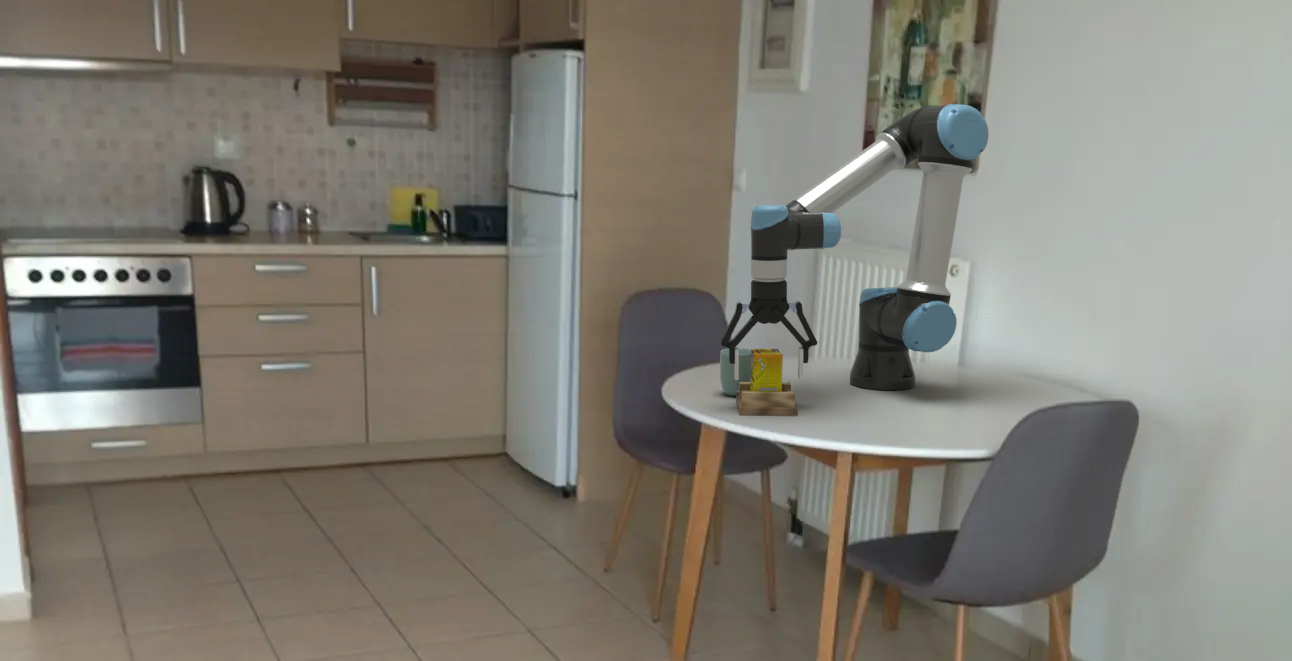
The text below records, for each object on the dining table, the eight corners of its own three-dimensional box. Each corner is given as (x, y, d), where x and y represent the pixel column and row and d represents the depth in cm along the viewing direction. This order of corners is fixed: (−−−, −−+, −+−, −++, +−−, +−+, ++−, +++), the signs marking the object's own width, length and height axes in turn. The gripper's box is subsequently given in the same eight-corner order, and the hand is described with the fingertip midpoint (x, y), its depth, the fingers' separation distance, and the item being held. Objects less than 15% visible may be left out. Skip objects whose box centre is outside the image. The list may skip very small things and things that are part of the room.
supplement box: (749, 398, 235) (750, 348, 233) (777, 398, 235) (778, 348, 233) (753, 404, 229) (754, 353, 227) (781, 404, 229) (783, 353, 228)
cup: (752, 399, 241) (753, 354, 239) (717, 397, 242) (718, 353, 241) (755, 391, 248) (756, 348, 247) (722, 390, 250) (722, 347, 248)
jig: (791, 401, 239) (791, 381, 238) (797, 415, 226) (798, 394, 225) (736, 401, 239) (736, 381, 238) (739, 415, 226) (740, 394, 225)
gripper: (826, 276, 231) (824, 374, 235) (708, 277, 232) (709, 375, 236) (831, 280, 224) (829, 381, 227) (709, 282, 225) (710, 382, 228)
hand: (768, 378), depth 231 cm, fingers open, 13 cm apart
